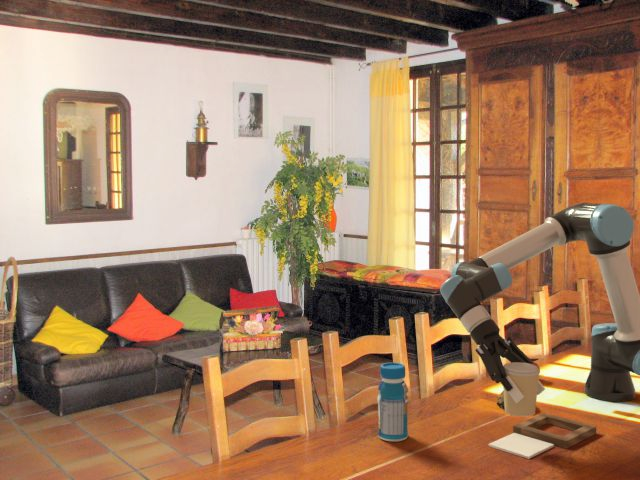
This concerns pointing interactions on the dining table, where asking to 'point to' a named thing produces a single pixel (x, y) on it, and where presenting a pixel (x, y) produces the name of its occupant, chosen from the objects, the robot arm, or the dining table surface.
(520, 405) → the coffee cup
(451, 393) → the dining table surface
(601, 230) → the robot arm
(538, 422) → the square frame
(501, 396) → the bread roll
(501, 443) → the white tile
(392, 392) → the beverage bottle
